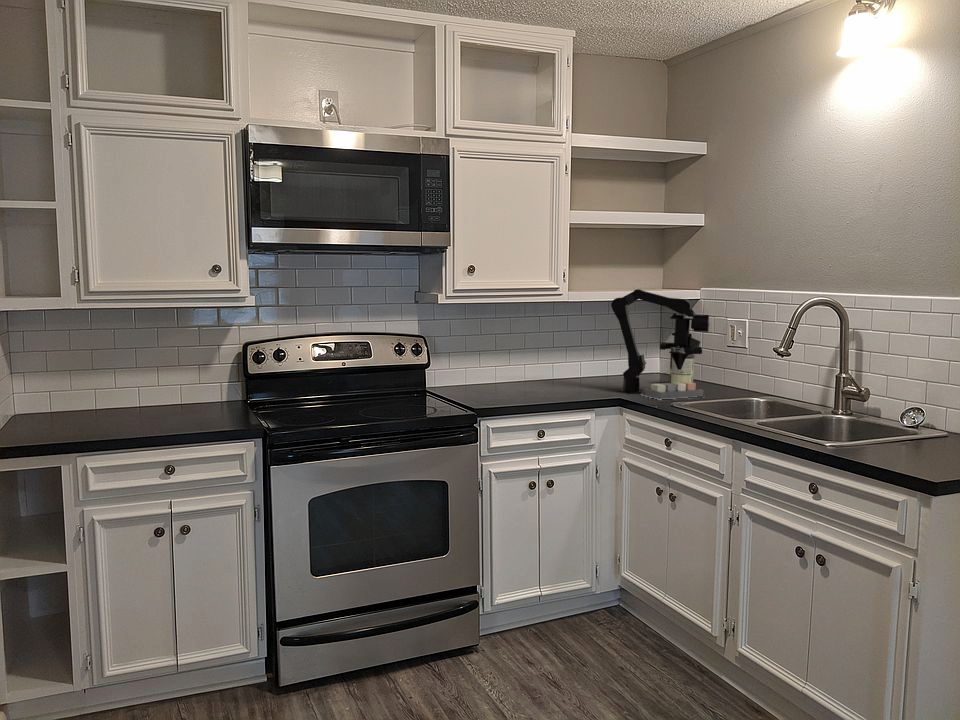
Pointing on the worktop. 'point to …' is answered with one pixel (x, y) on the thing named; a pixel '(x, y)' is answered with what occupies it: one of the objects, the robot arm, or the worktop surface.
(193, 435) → the worktop surface
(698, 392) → the keypad board
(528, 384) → the worktop surface
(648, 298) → the robot arm
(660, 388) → the key
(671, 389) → the key
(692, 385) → the key
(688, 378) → the coffee can
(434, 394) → the worktop surface
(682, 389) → the key
